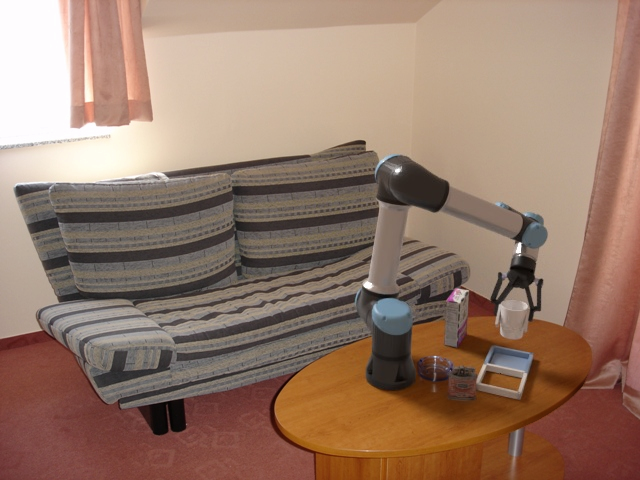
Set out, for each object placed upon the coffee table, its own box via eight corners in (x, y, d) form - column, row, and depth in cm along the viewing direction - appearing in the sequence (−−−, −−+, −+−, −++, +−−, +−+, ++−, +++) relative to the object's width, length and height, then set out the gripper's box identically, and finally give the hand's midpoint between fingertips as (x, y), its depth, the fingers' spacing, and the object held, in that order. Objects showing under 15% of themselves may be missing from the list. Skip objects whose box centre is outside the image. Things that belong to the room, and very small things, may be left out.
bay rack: (474, 389, 188) (474, 383, 187) (491, 350, 209) (491, 345, 208) (520, 400, 182) (521, 393, 182) (532, 358, 204) (533, 353, 203)
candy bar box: (452, 331, 222) (455, 287, 216) (466, 334, 220) (470, 290, 214) (442, 345, 213) (445, 300, 207) (457, 348, 210) (460, 303, 205)
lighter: (447, 399, 183) (449, 369, 180) (446, 393, 186) (448, 362, 183) (476, 401, 182) (478, 370, 179) (475, 395, 185) (477, 364, 182)
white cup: (495, 328, 201) (498, 299, 198) (521, 328, 201) (524, 299, 198) (501, 340, 194) (504, 310, 190) (527, 340, 194) (531, 310, 190)
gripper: (558, 269, 200) (546, 338, 192) (492, 260, 209) (477, 326, 200) (558, 259, 194) (546, 330, 186) (490, 250, 202) (475, 317, 194)
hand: (510, 328), depth 193 cm, fingers closed on white cup, 8 cm apart
